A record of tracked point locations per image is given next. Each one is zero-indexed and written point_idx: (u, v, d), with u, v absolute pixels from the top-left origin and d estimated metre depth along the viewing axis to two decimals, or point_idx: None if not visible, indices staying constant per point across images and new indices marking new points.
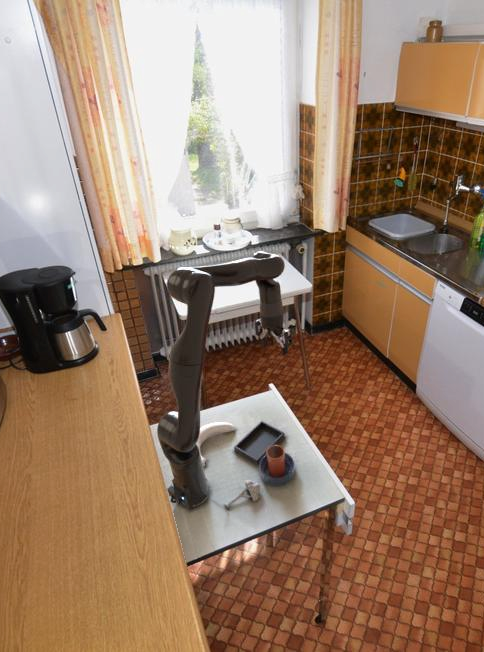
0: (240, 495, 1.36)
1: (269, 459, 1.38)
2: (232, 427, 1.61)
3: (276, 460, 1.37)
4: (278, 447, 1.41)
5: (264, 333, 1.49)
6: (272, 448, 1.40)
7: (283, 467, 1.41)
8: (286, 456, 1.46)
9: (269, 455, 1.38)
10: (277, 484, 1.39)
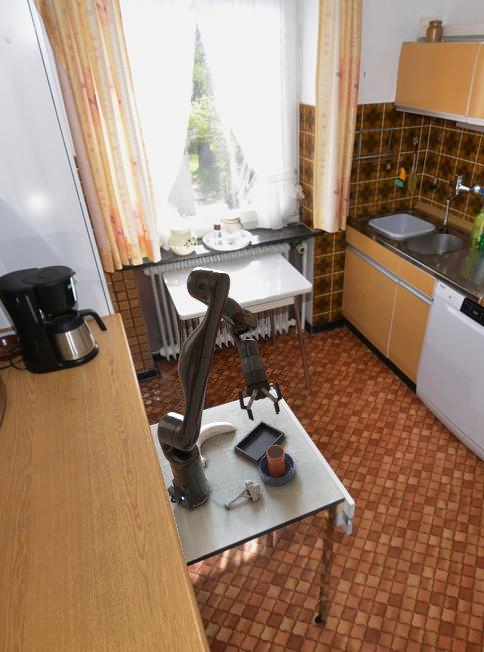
0: (240, 495, 1.36)
1: (269, 459, 1.38)
2: (232, 427, 1.61)
3: (276, 460, 1.37)
4: (278, 447, 1.41)
5: (253, 397, 1.44)
6: (272, 448, 1.40)
7: (283, 467, 1.41)
8: (286, 456, 1.46)
9: (269, 455, 1.38)
10: (277, 484, 1.39)
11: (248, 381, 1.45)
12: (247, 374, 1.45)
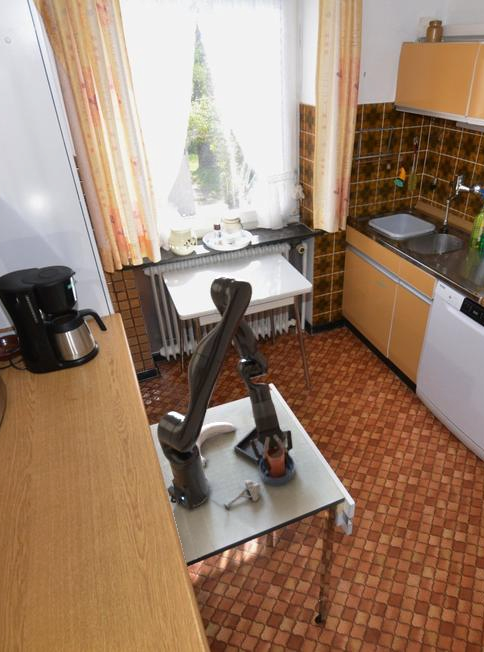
0: (240, 495, 1.36)
1: (269, 459, 1.38)
2: (232, 427, 1.61)
3: (276, 460, 1.37)
4: (278, 447, 1.41)
5: (265, 445, 1.40)
6: (272, 448, 1.40)
7: (283, 467, 1.41)
8: None
9: (269, 455, 1.38)
10: (277, 484, 1.39)
11: (260, 428, 1.40)
12: (259, 421, 1.41)
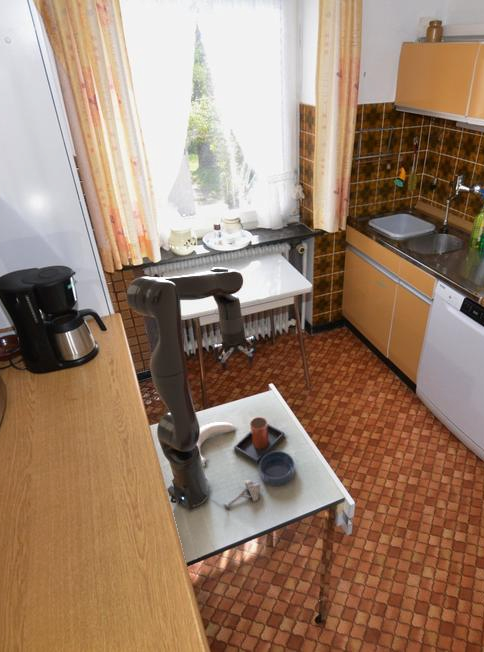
0: (240, 495, 1.36)
1: (252, 429, 1.49)
2: (232, 427, 1.61)
3: (258, 430, 1.48)
4: (261, 419, 1.52)
5: (228, 353, 1.43)
6: (256, 420, 1.52)
7: (266, 437, 1.52)
8: (286, 456, 1.46)
9: (252, 426, 1.49)
10: (277, 484, 1.39)
11: (226, 341, 1.39)
12: (225, 335, 1.38)
